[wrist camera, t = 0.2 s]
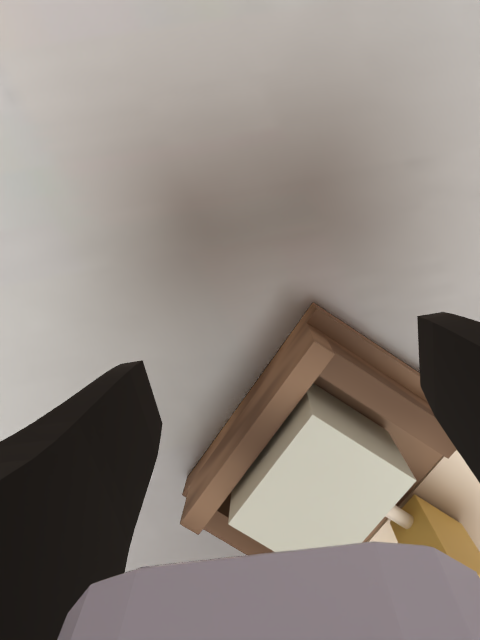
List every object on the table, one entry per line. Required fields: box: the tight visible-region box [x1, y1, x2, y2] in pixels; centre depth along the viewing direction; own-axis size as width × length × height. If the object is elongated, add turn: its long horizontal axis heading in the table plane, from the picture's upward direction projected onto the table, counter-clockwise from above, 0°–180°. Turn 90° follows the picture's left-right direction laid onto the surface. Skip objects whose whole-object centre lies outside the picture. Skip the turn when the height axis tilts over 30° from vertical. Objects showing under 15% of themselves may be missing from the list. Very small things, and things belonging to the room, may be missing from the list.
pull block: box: [228, 383, 480, 578], centre depth 20 cm, size 6×11×4 cm, turn 57°
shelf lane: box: [180, 302, 480, 555], centre depth 22 cm, size 12×22×4 cm, turn 57°
